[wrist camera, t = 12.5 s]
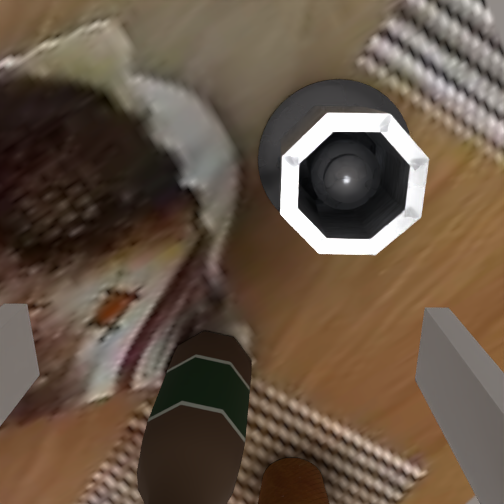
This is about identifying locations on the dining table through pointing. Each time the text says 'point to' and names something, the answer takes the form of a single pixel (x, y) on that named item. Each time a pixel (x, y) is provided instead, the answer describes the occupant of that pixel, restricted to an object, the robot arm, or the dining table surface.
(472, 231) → the dining table surface
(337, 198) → the duct stub
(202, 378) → the beer bottle
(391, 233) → the sleeve
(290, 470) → the disposable coffee cup
